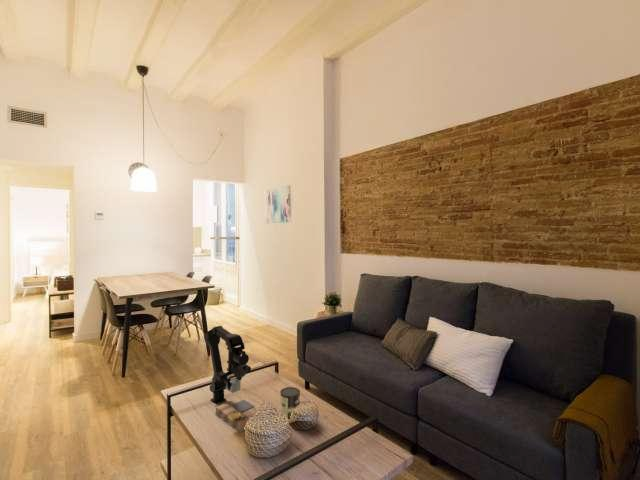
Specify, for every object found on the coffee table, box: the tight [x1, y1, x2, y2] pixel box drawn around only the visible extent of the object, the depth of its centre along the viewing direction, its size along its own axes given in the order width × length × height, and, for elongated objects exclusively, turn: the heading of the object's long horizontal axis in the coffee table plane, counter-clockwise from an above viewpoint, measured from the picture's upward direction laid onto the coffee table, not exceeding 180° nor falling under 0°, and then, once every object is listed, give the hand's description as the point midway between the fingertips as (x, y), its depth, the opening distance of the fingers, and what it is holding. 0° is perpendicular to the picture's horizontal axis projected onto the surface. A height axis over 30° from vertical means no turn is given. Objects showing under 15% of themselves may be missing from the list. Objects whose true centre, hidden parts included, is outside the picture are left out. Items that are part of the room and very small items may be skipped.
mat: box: [230, 399, 255, 414], centre depth 189 cm, size 10×10×1 cm
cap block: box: [225, 376, 241, 394], centre depth 183 cm, size 6×5×5 cm
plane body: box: [214, 402, 250, 433], centre depth 175 cm, size 23×6×5 cm, turn 48°
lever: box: [228, 412, 244, 420], centre depth 169 cm, size 5×1×6 cm
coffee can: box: [279, 386, 301, 419], centre depth 179 cm, size 10×10×14 cm
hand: (233, 388), depth 183 cm, fingers closed on cap block, 5 cm apart
